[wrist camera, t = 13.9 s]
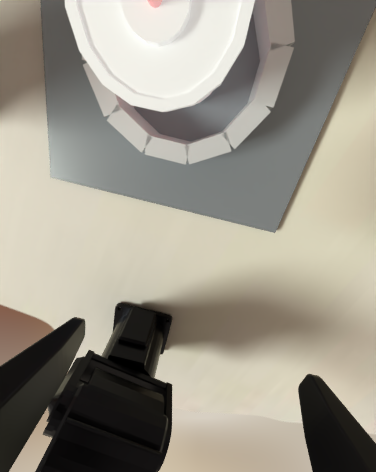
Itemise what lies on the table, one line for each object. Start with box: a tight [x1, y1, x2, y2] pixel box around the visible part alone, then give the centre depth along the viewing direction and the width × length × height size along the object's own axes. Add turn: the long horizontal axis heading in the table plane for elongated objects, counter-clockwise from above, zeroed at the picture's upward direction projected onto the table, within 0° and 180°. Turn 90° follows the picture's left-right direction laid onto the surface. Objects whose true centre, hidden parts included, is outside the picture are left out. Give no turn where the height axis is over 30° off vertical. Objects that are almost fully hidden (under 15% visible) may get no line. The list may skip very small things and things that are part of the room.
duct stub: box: [41, 0, 376, 233], centre depth 14 cm, size 20×20×4 cm
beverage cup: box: [65, 0, 255, 112], centre depth 9 cm, size 6×6×14 cm
